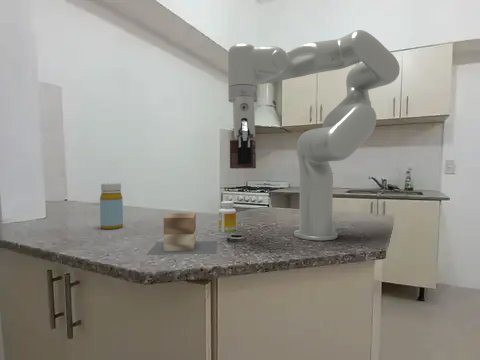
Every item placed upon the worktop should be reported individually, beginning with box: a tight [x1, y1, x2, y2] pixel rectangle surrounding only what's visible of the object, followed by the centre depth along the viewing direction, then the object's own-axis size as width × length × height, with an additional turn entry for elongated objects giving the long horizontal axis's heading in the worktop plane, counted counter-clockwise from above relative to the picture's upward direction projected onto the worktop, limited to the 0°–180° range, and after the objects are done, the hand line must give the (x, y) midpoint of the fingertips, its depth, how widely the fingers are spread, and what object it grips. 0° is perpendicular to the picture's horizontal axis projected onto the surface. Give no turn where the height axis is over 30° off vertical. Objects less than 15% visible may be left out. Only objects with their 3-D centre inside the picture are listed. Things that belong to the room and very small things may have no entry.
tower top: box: [163, 212, 197, 236], centre depth 80 cm, size 7×7×4 cm
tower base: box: [163, 228, 197, 251], centre depth 80 cm, size 7×7×4 cm
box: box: [229, 139, 257, 170], centre depth 84 cm, size 6×6×7 cm
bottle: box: [99, 182, 124, 230], centre depth 108 cm, size 7×7×15 cm
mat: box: [146, 240, 218, 256], centre depth 80 cm, size 16×12×1 cm
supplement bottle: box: [218, 200, 237, 233], centre depth 100 cm, size 5×5×10 cm
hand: (243, 163), depth 84 cm, fingers closed on box, 6 cm apart
